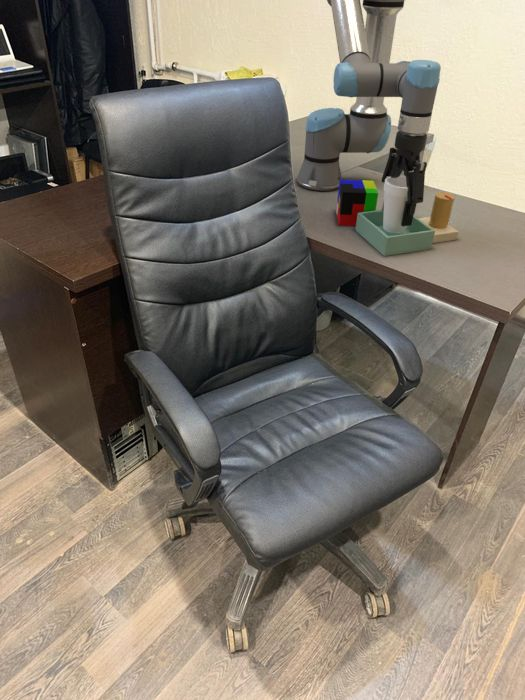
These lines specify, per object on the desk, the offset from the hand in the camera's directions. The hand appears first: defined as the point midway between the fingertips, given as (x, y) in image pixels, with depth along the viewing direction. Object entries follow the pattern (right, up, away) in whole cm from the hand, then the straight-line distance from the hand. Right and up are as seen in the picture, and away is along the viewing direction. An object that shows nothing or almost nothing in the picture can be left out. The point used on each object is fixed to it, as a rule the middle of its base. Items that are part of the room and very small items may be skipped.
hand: (396, 217), depth 143 cm
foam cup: (0, -3, +2) cm, 3 cm away
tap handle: (+14, 0, +6) cm, 15 cm away
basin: (0, -5, +4) cm, 6 cm away
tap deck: (+13, -2, +8) cm, 15 cm away
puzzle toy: (-9, +3, +14) cm, 17 cm away
